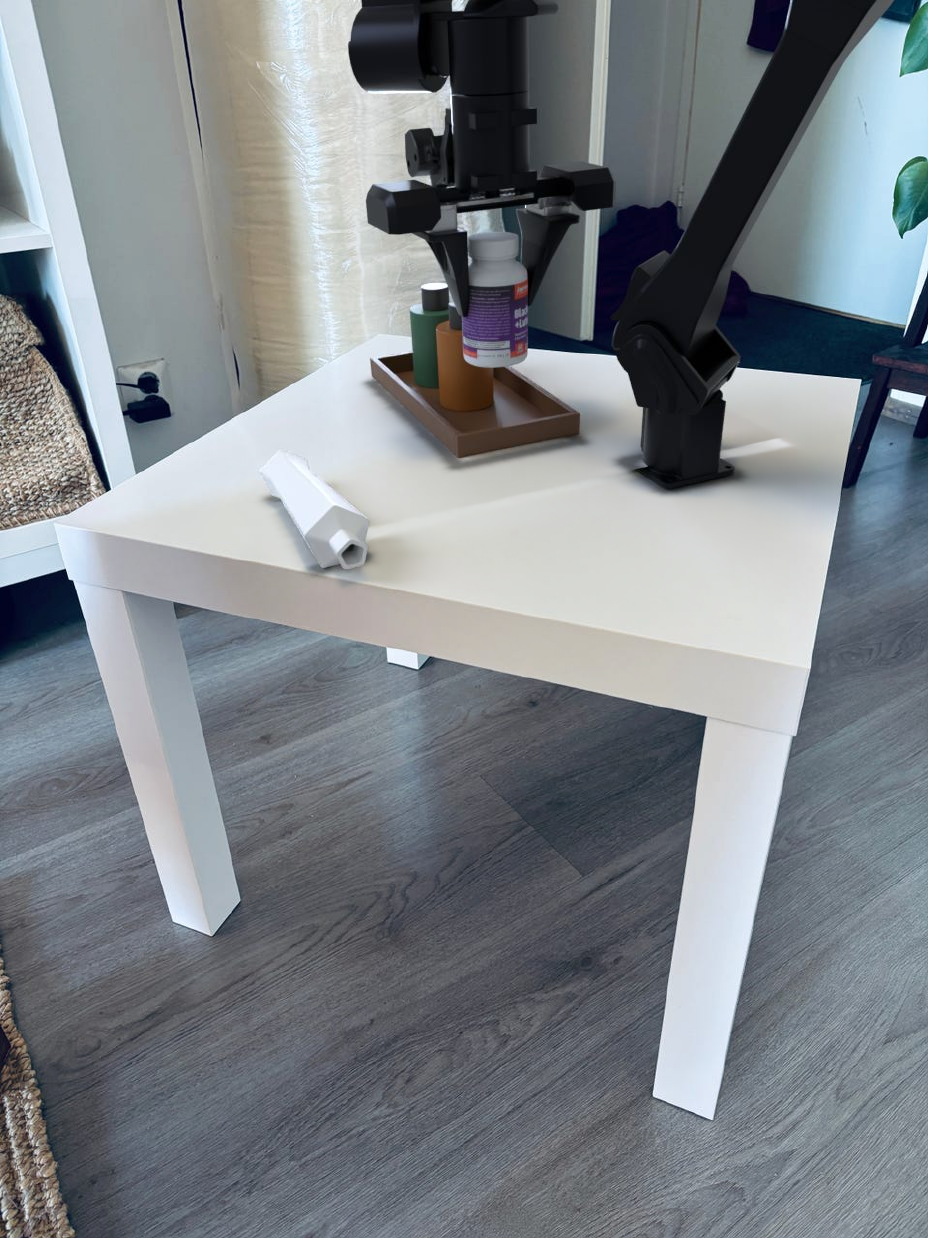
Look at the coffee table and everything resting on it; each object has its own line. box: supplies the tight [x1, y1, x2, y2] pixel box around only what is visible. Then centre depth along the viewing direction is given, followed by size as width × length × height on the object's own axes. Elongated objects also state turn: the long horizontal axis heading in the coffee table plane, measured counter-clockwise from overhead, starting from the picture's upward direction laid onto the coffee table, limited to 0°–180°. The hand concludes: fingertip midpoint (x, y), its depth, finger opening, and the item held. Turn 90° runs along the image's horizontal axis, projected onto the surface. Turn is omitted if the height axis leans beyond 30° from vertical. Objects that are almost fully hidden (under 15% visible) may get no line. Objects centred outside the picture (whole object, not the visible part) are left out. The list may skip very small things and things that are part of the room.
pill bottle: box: [462, 231, 529, 368], centre depth 78 cm, size 5×5×10 cm
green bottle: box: [409, 282, 451, 388], centre depth 92 cm, size 5×5×9 cm
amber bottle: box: [436, 300, 494, 411], centre depth 87 cm, size 5×5×9 cm
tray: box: [369, 350, 581, 459], centre depth 89 cm, size 23×11×3 cm, turn 22°
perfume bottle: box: [259, 448, 370, 570], centre depth 68 cm, size 5×4×15 cm
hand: (495, 310), depth 78 cm, fingers closed on pill bottle, 5 cm apart
